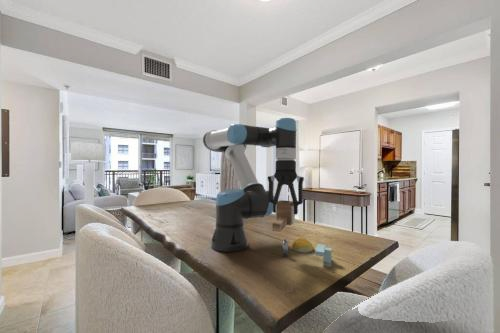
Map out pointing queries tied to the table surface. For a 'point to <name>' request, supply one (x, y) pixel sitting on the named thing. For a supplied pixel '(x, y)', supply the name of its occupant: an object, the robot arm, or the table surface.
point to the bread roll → (302, 245)
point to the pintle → (285, 248)
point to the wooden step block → (282, 215)
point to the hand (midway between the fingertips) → (285, 222)
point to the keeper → (324, 254)
